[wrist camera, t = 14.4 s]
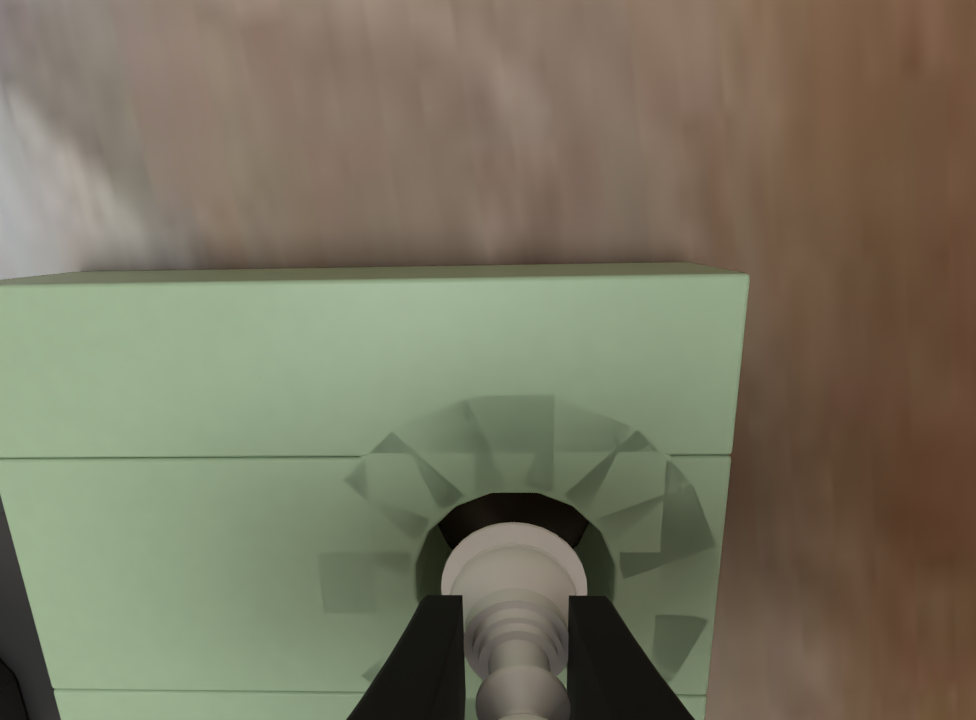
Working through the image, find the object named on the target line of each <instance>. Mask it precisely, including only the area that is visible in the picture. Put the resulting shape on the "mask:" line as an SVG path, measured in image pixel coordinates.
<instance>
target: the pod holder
mask: <svg viewBox="0 0 976 720" xmlns="http://www.w3.org/2000/svg"><path fill="white" fill-rule="evenodd" d="M749 281H750V278H749V275H748V274H746V273H743V272H738V271H733V270H727V269H722V268H717V267H712V266H706V265H701V264H696V263H690V262H657V263H594V264H532V265H469V266H407V267H344V268H281V269H219V270H156V271H94V272H70V273H60V274H51V275H41V276H32V277H22V278H12V279H3V280H0V495H1V499H2V503H3V507H4V510H5V514H6V518H7V521H8V525H9V529H10V533H11V536H12V540H13V544H14V548H15V551H16V555H17V559H18V562H19V566H20V570H21V574H22V577H23V581H24V585H25V588H26V592H27V596H28V600H29V603H30V607H31V611H32V614H33V618H34V622H35V626H36V629H37V633H38V637H39V641H40V644H41V648H42V652H43V655H44V659H45V663H46V667H47V670H48V674H49V678H50V681H51V685H52V687H53V688H54V689H55V690H54V696H55V699H56V703H57V707H58V711H59V714H60V718H61V720H346V719H347V718H348V716H349V715H350V714H351V712H352V711H353V709H354V708H355V707H356V705H357V704H358V702H359V701H360V700H361V698H362V697H363V695H364V694H365V692H366V691H367V689H368V688H369V686H370V685H371V683H372V681H373V680H374V678H375V677H376V675H377V674H378V672H379V671H380V669H381V668H382V666H383V665H384V663H385V662H386V660H387V659H388V657H389V655H390V654H391V652H392V651H393V649H394V647H395V646H396V644H397V642H398V641H399V639H400V637H401V636H402V634H403V632H404V631H405V629H406V627H407V625H408V624H409V622H410V620H411V618H412V616H413V614H414V613H415V611H416V609H417V607H418V605H419V603H420V601H421V600H422V599H423V598H424V597H425V596H426V595H442V591H441V582H442V573H443V570H444V567H445V564H446V561H447V559H448V557H449V556H450V554H451V552H452V551H453V550H452V549H451V548H450V547H449V546H448V544H447V542H446V540H445V538H444V536H443V534H442V532H441V530H440V528H439V527H438V525H437V524H438V523H439V522H440V521H441V520H442V519H443V518H444V517H445V516H446V515H447V514H448V513H449V512H450V511H451V510H453V509H454V508H455V507H456V506H458V505H461V504H464V503H466V502H469V501H471V500H474V499H477V498H479V497H482V496H485V495H487V494H490V493H539V494H542V495H545V496H547V497H550V498H553V499H555V500H558V501H561V502H564V503H566V504H569V505H572V506H573V507H574V508H575V509H576V510H577V511H578V512H579V513H580V514H582V515H583V516H584V517H585V518H586V519H587V520H588V521H589V524H588V526H587V528H586V530H585V532H584V534H583V536H582V538H581V540H580V542H579V544H578V545H577V546H576V547H575V548H574V549H573V550H574V551H575V552H576V554H577V556H578V557H579V559H580V561H581V563H582V565H583V568H584V571H585V575H586V579H587V596H606V597H607V598H608V599H609V600H610V601H611V602H612V603H613V605H614V607H615V608H616V610H617V612H618V613H619V615H620V616H621V618H622V619H623V621H624V623H625V624H626V626H627V627H628V629H629V630H630V632H631V633H632V635H633V636H634V638H635V639H636V641H637V642H638V644H639V645H640V646H641V648H642V649H643V651H644V652H645V654H646V655H647V656H648V658H649V659H650V661H651V662H652V664H653V665H654V666H655V668H656V669H657V670H658V672H659V673H660V675H661V676H662V677H663V679H664V680H665V681H666V682H667V684H668V685H669V686H670V688H671V689H672V690H673V692H674V693H675V694H676V696H677V697H678V698H679V700H680V701H681V702H682V703H683V705H684V706H685V707H686V709H687V710H688V711H689V713H690V714H691V715H692V716H693V718H694V719H695V720H704V719H705V709H706V700H707V696H706V693H707V688H708V678H709V669H710V659H711V649H712V640H713V630H714V620H715V610H716V601H717V591H718V581H719V572H720V562H721V552H722V542H723V533H724V523H725V513H726V504H727V494H728V484H729V474H730V465H731V458H730V455H729V454H731V452H732V446H733V436H734V426H735V417H736V407H737V397H738V388H739V378H740V368H741V358H742V349H743V339H744V329H745V320H746V310H747V300H748V290H749ZM464 656H465V654H464ZM557 678H558V679H559V680H560V681H561V682H562V683H563V685H564V686H565V688H566V690H567V664H566V666H565V668H564V669H563V670H562V672H561V673H560V674H559V675H558V676H557ZM483 681H484V680H483V679H482V678H480V677H479V676H478V675H477V674H476V673H475V672H474V671H473V670H472V668H471V667H470V665H469V664H468V662H467V659H466V657H465V685H466V700H465V718H464V720H478V718H477V715H476V707H475V705H476V695H477V692H478V689H479V687H480V685H481V684H482V682H483Z"/></svg>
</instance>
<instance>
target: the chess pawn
mask: <svg viewBox="0 0 976 720" xmlns="http://www.w3.org/2000/svg"><path fill="white" fill-rule="evenodd" d="M441 591H442V595H462V597H463V627H464V654H465V657H466V659H467V662H468V664H469V665H470V667H471V668H472V670H473V671H474V672H475V673H476V674H477V675H478V676H479V677H480V678H482V679H483V680H484V681H483V682H482V684H481V685H480V687H479V689H478V692H477V695H476V705H475V707H476V715H477V718H478V720H569V718H570V712H571V708H570V699H569V695H568V692H567V690H566V688H565V686H564V685H563V683H562V682H561V681H560V680H559V679H558V678H557V676H558V675H559V674H560V673H561V672H562V670H563V669H564V668H565V666H566V664H567V662H568V638H569V634H568V607H569V595H577V596H587V579H586V575H585V571H584V568H583V565H582V563H581V561H580V559H579V557H578V556H577V554H576V552H575V551H574V550H573V549H572V548H571V547H570V545H569V544H568V543H567V542H566V541H564V540H563V539H562V538H560V537H559V536H558V535H556V534H555V533H553V532H551V531H549V530H547V529H545V528H542V527H539V526H536V525H532V524H528V523H519V522H507V523H498V524H494V525H490V526H486V527H484V528H481V529H479V530H477V531H475V532H473V533H471V534H470V535H469V536H467V537H466V538H464V539H463V540H462V541H461V542H460V543H459V544H458V545H457V546H456V547H455V548H454V549H453V551H452V552H451V554H450V556H449V557H448V559H447V561H446V564H445V567H444V570H443V573H442V582H441Z"/></svg>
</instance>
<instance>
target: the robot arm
mask: <svg viewBox="0 0 976 720" xmlns="http://www.w3.org/2000/svg"><path fill="white" fill-rule="evenodd" d="M568 634H569V638H568V662H567V692H568V695H569V699H570V708H571V712H570V718H569V720H695V719H694V718H693V716H692V715H691V714H690V713H689V711H688V710H687V709H686V707H685V706H684V705H683V703H682V702H681V701H680V700H679V698H678V697H677V696H676V694H675V693H674V692H673V690H672V689H671V688H670V686H669V685H668V684H667V682H666V681H665V680H664V679H663V677H662V676H661V675H660V673H659V672H658V670H657V669H656V668H655V666H654V665H653V664H652V662H651V661H650V659H649V658H648V656H647V655H646V654H645V652H644V651H643V649H642V648H641V646H640V645H639V644H638V642H637V641H636V639H635V638H634V636H633V635H632V633H631V632H630V630H629V629H628V627H627V626H626V624H625V623H624V621H623V619H622V618H621V616H620V615H619V613H618V612H617V610H616V608H615V607H614V605H613V603H612V602H611V601H610V600H609V599H608V598H607V597H606V596H577V595H569V607H568ZM465 700H466V685H465V656H464V627H463V597H462V595H426V596H425V597H424V598H423V599H422V600H421V601H420V603H419V605H418V607H417V609H416V611H415V613H414V614H413V616H412V618H411V620H410V622H409V624H408V625H407V627H406V629H405V631H404V632H403V634H402V636H401V637H400V639H399V641H398V642H397V644H396V646H395V647H394V649H393V651H392V652H391V654H390V655H389V657H388V659H387V660H386V662H385V663H384V665H383V666H382V668H381V669H380V671H379V672H378V674H377V675H376V677H375V678H374V680H373V681H372V683H371V685H370V686H369V688H368V689H367V691H366V692H365V694H364V695H363V697H362V698H361V700H360V701H359V702H358V704H357V705H356V707H355V708H354V709H353V711H352V712H351V714H350V715H349V716H348V718H347V719H346V720H464V718H465Z"/></svg>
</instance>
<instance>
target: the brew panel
mask: <svg viewBox="0 0 976 720" xmlns="http://www.w3.org/2000/svg"><path fill="white" fill-rule="evenodd" d="M54 690H55V689H54V688H53V687H52V685H51V681H50V678H49V674H48V670H47V667H46V663H45V659H44V655H43V652H42V648H41V644H40V641H39V637H38V633H37V629H36V626H35V622H34V618H33V614H32V611H31V607H30V603H29V600H28V596H27V592H26V588H25V585H24V581H23V577H22V574H21V570H20V566H19V562H18V559H17V555H16V551H15V548H14V544H13V540H12V536H11V533H10V529H9V525H8V521H7V518H6V514H5V510H4V507H3V503H2V499H1V495H0V720H61V718H60V714H59V711H58V707H57V703H56V699H55V696H54Z"/></svg>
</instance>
